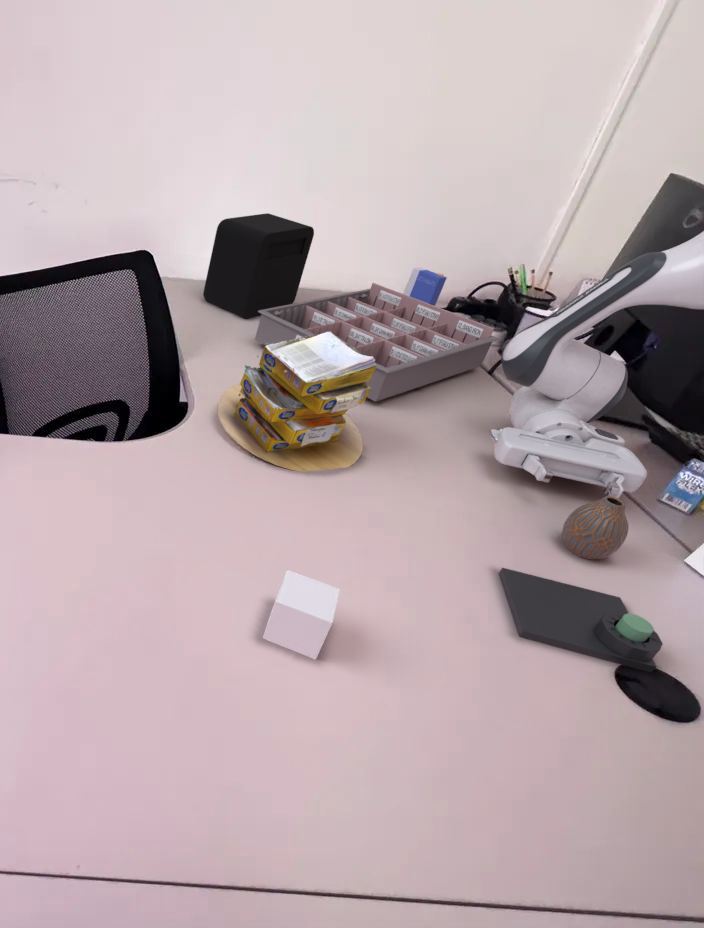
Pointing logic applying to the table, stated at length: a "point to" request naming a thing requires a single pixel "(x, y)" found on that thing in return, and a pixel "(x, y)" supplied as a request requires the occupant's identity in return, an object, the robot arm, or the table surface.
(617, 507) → the vase
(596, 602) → the scale
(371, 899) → the table surface
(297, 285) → the air purifier
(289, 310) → the organizer tray
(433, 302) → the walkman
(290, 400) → the stacked yellow boxes
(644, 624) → the button
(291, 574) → the white cube
